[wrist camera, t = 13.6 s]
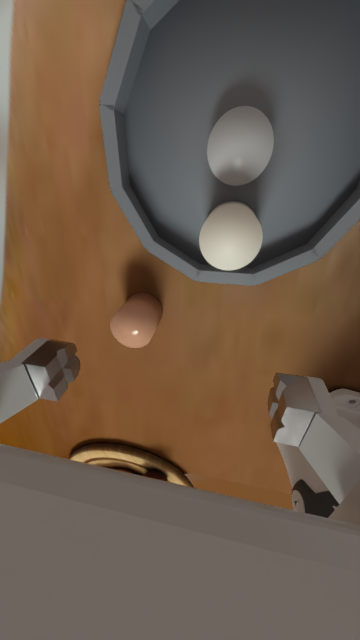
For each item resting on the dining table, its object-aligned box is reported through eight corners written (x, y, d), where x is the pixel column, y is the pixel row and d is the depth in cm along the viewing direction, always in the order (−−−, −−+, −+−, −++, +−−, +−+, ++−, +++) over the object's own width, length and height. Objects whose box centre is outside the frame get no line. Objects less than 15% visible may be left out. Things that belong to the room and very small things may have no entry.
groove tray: (469, -96, 13) (525, -160, 11) (332, 281, 25) (344, 292, 22) (98, -40, 17) (75, -78, 14) (131, 266, 28) (121, 275, 26)
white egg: (261, 201, 22) (268, 206, 17) (252, 255, 24) (256, 272, 20) (206, 200, 22) (200, 205, 18) (203, 253, 25) (197, 268, 21)
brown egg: (162, 294, 30) (150, 313, 25) (163, 327, 32) (152, 350, 28) (124, 290, 30) (107, 309, 26) (128, 323, 33) (113, 345, 29)
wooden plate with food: (131, 423, 46) (113, 467, 39) (223, 503, 56) (222, 550, 49) (48, 456, 61) (24, 492, 54) (132, 515, 70) (121, 552, 63)
